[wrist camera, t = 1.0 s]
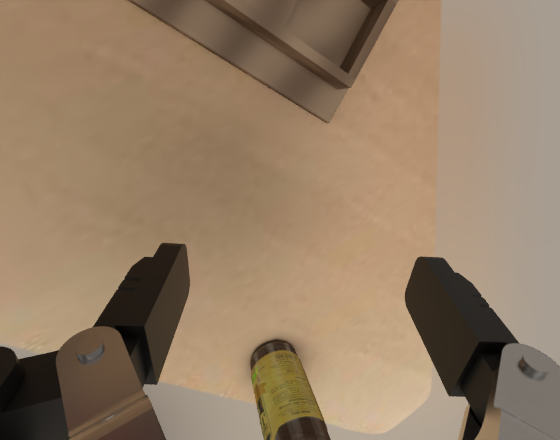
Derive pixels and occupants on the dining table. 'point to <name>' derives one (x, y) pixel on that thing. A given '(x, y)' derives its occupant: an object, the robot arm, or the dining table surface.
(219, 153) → the dining table surface
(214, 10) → the walnut organizer
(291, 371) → the sauce bottle
